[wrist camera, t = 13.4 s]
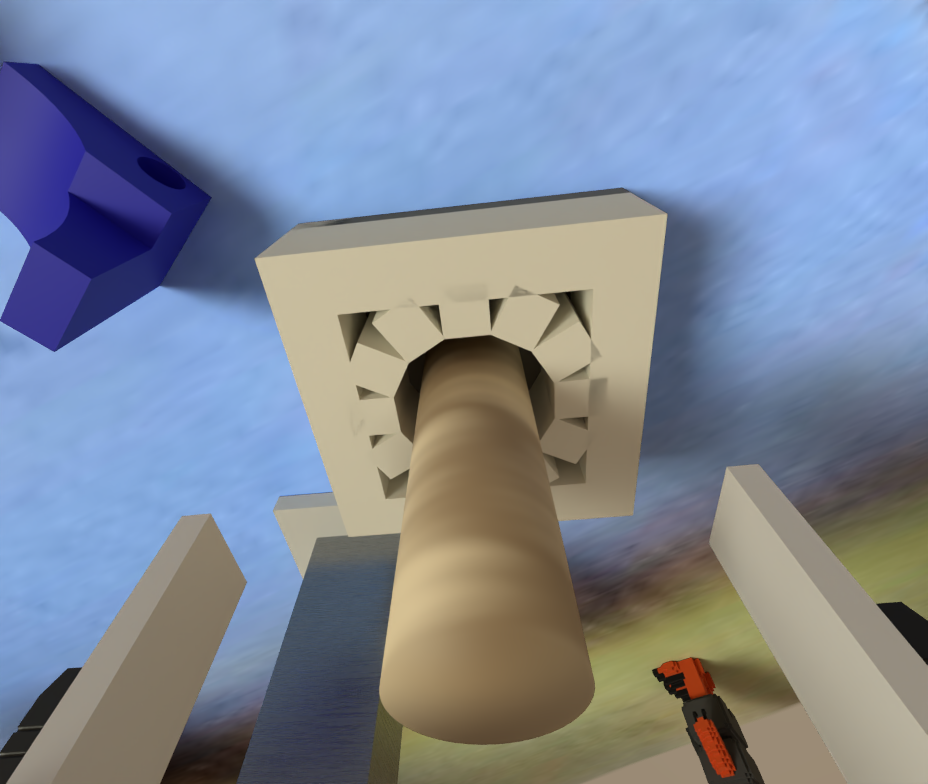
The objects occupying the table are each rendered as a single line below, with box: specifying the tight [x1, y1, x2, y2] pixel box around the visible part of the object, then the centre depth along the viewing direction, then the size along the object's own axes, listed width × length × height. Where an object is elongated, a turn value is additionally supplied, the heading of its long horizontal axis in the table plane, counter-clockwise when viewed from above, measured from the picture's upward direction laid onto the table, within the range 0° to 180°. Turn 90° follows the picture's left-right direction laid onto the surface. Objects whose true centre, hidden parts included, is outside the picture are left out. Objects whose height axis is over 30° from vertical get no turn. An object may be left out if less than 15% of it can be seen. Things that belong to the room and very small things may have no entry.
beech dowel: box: [379, 335, 595, 745], centre depth 14 cm, size 4×4×13 cm
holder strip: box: [273, 492, 348, 578], centre depth 30 cm, size 8×20×1 cm, turn 6°
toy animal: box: [652, 658, 765, 784], centre depth 30 cm, size 8×5×12 cm
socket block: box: [254, 188, 667, 537], centre depth 19 cm, size 12×12×4 cm
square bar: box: [236, 533, 403, 784], centre depth 21 cm, size 5×5×13 cm
